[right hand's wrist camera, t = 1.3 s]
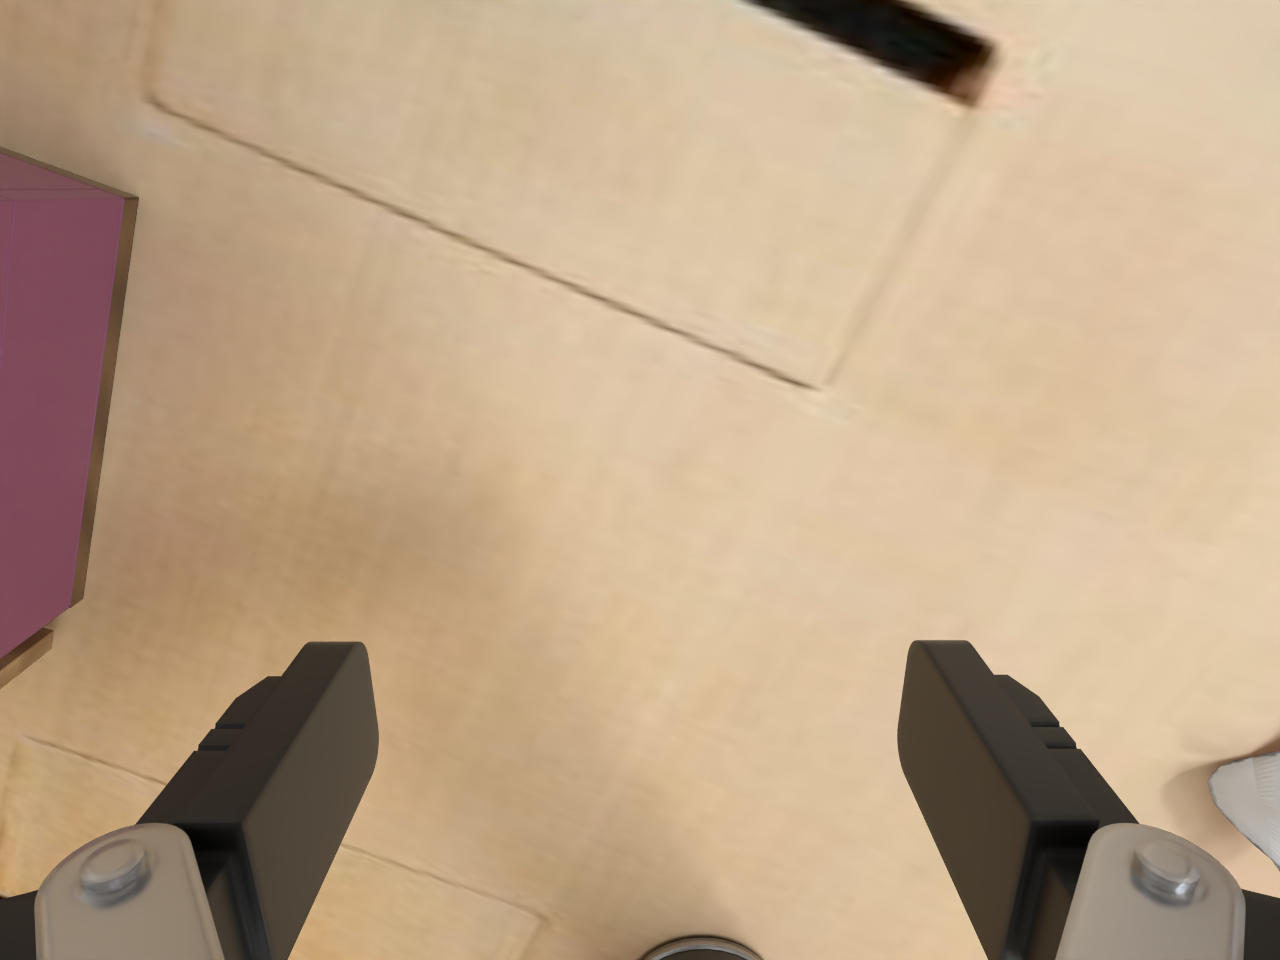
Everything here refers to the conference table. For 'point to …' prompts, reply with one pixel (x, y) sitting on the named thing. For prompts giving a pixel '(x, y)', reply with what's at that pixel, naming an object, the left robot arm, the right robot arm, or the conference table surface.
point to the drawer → (25, 655)
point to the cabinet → (54, 378)
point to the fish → (1251, 799)
